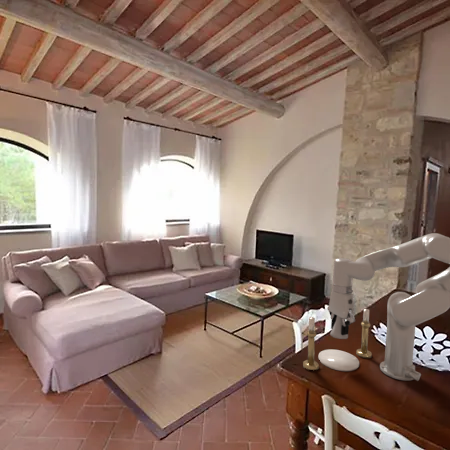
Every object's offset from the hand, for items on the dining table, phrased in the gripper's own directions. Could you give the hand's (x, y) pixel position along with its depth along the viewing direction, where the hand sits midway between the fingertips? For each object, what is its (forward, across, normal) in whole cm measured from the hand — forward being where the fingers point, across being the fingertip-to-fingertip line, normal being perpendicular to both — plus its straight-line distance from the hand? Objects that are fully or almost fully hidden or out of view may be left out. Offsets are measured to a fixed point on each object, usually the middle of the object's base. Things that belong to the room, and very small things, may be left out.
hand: (339, 331), depth 131 cm
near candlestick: (+13, 0, +14) cm, 19 cm away
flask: (+2, 0, 0) cm, 2 cm away
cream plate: (+13, 0, 0) cm, 13 cm away
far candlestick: (+13, 0, -14) cm, 19 cm away
